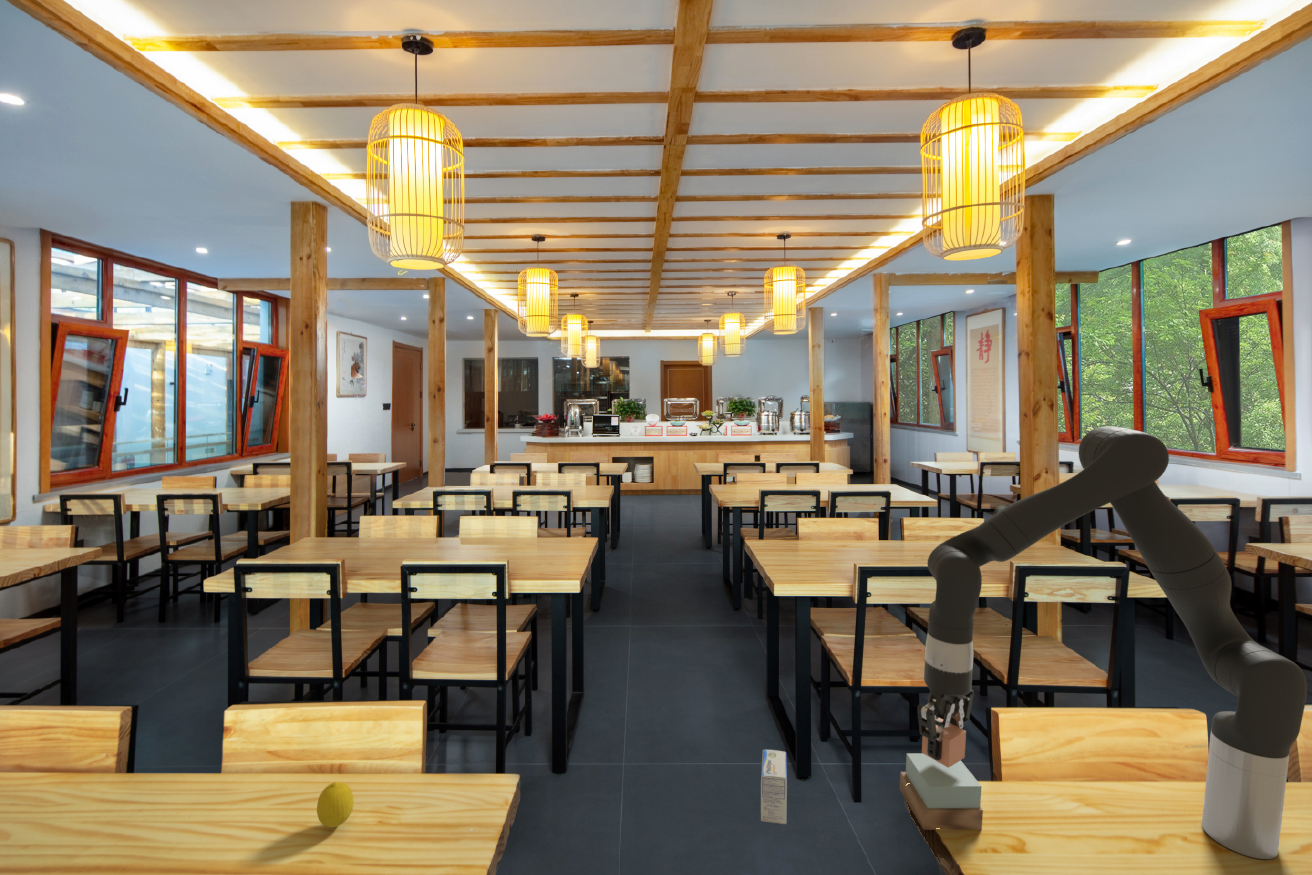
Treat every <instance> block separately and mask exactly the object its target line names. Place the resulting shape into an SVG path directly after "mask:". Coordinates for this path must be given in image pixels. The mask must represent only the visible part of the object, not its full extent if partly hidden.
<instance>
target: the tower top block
mask: <svg viewBox="0 0 1312 875" xmlns="http://www.w3.org/2000/svg"><path fill="white" fill-rule="evenodd" d="M905 757H906V759H905V760H906V762H905V772H906V775H907V777H908V778H909V780H910V781H911V783H912V784H913V786H914V788H915V789H916V791H917V792H918V794H919V795H920V797H921V799H922V800H923V802H924V803H925V805H926V806H927V808H980V807H981V805H982V804H981V800H982V799H981V798H982V785H981V784H980V783H979V781H978V780H977V779H976V778H975V776H974V774H973V773H972V772H971V771H970V770H969V769H968V768H967V766H966V765H965V764H964V763H963V761H962V760H960V761H959V762H957V763H955V764H954V765H952V766H951V767H949V768H948V767H946V766H944V765H942V764H941V763H939V762H937V761H935V760H934V759H932V758H930V757H928V756H927V755H925V754H923V753H922V752H921V753H918V752H916V753H915V752H914V753H910V752H908V753H906V756H905Z"/></svg>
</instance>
